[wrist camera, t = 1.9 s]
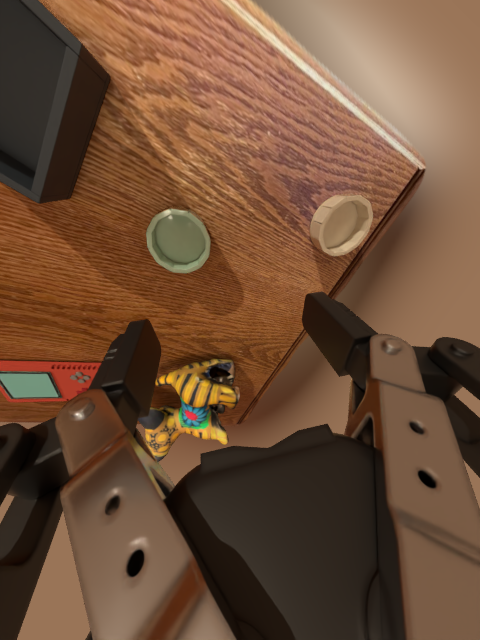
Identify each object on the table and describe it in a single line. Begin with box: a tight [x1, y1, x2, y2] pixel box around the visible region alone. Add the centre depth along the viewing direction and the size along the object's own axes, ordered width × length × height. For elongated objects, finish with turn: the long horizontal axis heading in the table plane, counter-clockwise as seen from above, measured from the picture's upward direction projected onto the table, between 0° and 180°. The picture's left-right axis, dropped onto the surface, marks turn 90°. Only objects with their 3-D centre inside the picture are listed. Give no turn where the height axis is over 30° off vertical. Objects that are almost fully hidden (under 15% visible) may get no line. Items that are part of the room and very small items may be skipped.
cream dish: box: [310, 194, 373, 256], centre depth 23 cm, size 6×6×2 cm
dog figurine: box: [138, 359, 240, 462], centre depth 35 cm, size 20×12×18 cm
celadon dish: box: [146, 206, 211, 273], centre depth 21 cm, size 6×6×2 cm
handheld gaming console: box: [0, 361, 101, 402], centre depth 31 cm, size 9×1×15 cm
